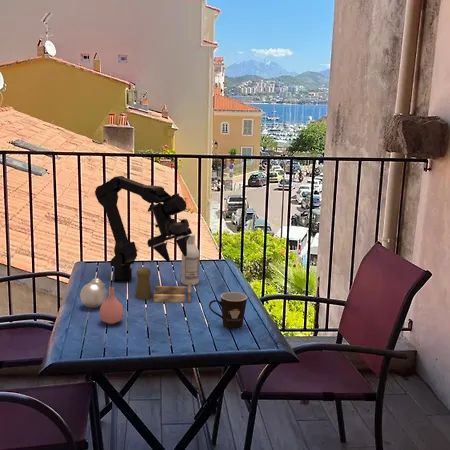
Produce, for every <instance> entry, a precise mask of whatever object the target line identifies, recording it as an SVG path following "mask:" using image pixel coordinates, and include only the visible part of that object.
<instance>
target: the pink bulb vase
mask: <svg viewBox="0 0 450 450" xmlns="http://www.w3.org/2000/svg"><path fill="white" fill-rule="evenodd" d="M124 313H125V312H124V306H123V304H122V303H121V302H120V301H119V300H118V299H117V297H116V295H115V287H114V286H109V287H108V295H107V297H106V299H105V301H104V303H103V304H102V305H101V306H99V314H98V315H99V317H100V320H101V321H102V322H103V323H106V324H108V325H114V324H115V323H119V322H121V321H122V319H123V317H124Z"/></svg>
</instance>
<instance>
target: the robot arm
mask: <svg viewBox="0 0 450 450" xmlns="http://www.w3.org/2000/svg"><path fill="white" fill-rule="evenodd" d="M122 190H123V191H127V192H130V193H131V194H135V195H138V196H139V197H141V199H142V200H143V201H145V202H147V203H148V204H149V207H148V209H147V212H148V213H151V212H153V213H152V214H153V216H154V220H155V221H156V224H154V227H155V228H156V229H157V228H158V230H159V231H158V232H159V233H160V234H159V235H156V236H153V237H151V238H149V239H147V242H146V243H147V246H148V248H151V249H152V250H154V251H156V253H158V254H159V255H160V256H161V257H162V258H163V259H164V261H166V262H167V263H169V262H171V258H170V255H169V252H168V249H167V244H168V242H166V241H169V240H172V239H175V244H177V246H178V248H179V250H180V252H181V255H182V254H183V255H184V256H187V240H188V238H189V237H190V235H189V234H193V232H192V229H191V228H190V224H189V220H188V219H187V218H184V219H181V220H180V221H179V222H177V221H176V219H175V218H172V216H175V215H177V214H179V213H182V212H184V211H186V209H187V201H186V200H185V199H184V197H182V196H181V195H180V194H179V192H177V193H174V194H172V195H171V194H169V193H168V192H167V191H166V190H165V188H164V187H163V186H161V185H160V186H159V185H152V184H151V185H149V184H144V183H143V182H138V181H136V180H132V179H131V178H127V177H125V176H124V175H117V176H114V177H112V178H111V179H110V180H107V181H106V182H104V183H102V184H101V185H97V186H96V189H95V190H94V195H95V197H96V199H97V202H98V203H99V204H100V205H101V206H102V207H103V208H104V210H105V213H106V217H107V221H108V223H109V227H110V230H111V233H112V236H113V239H114V243H115V244H114V249H113V251H114V252H113V253H114V256H113V257H112V258H111V259H110V260H109V264H110V266H111V267H113V276H114V277H113V281H112V282H113V283H130V282H131V280H132V279H133V267H131V266H132V265H135V261H136V260H137V257H138V249H137V246H136V242H134V241H131V240H129V239H128V236H127V232H126V230H125V226H124V224H123V223H124V222H123V219H122V217H121V214H120V210H119V208H118V207H119V206H118V200H119V194H118V193H119V192H121V191H122ZM188 235H189V236H188Z"/></svg>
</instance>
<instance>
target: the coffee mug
mask: <svg viewBox="0 0 450 450" xmlns="http://www.w3.org/2000/svg"><path fill="white" fill-rule="evenodd" d="M247 301H248V295H246V294H245V293H242V292H237V291H236V292H235V291H230V292H223V293H221V295H220V300H218V299H214V300H211V301H210V302H209V303H208V308H209V309H210V311H211V312H212V313H213V314H214V315H216V316H218V317H220V318H221V319H222V326H223V328H225V327H226V328H225V329H228V328H229V329H228V330H239V329H241V328H243V326H244V325H243V324H244V319H245V313H246V308H247V307H246V306H247ZM213 303H218V304H219V306H220V307H221V314H219V313H218V312H216V311H215V310H214V309H212V307H211V305H212V304H213ZM240 327H241V328H240ZM238 328H239V329H238Z"/></svg>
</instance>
